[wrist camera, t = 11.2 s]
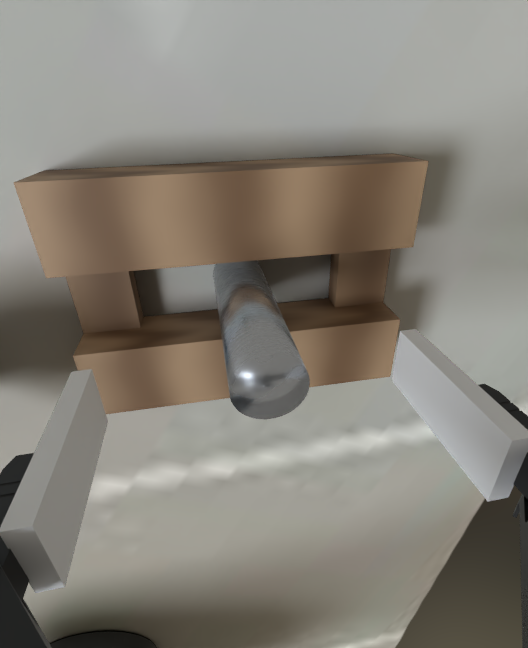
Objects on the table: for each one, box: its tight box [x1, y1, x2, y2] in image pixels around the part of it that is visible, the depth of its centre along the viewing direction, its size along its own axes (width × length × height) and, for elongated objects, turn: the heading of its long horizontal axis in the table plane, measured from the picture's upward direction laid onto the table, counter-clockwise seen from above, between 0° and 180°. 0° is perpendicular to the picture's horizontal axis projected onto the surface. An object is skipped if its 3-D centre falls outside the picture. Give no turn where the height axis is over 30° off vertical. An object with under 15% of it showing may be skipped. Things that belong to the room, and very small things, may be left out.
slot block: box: [14, 154, 428, 414], centre depth 23 cm, size 20×14×4 cm
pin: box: [213, 260, 310, 419], centre depth 20 cm, size 3×3×12 cm
